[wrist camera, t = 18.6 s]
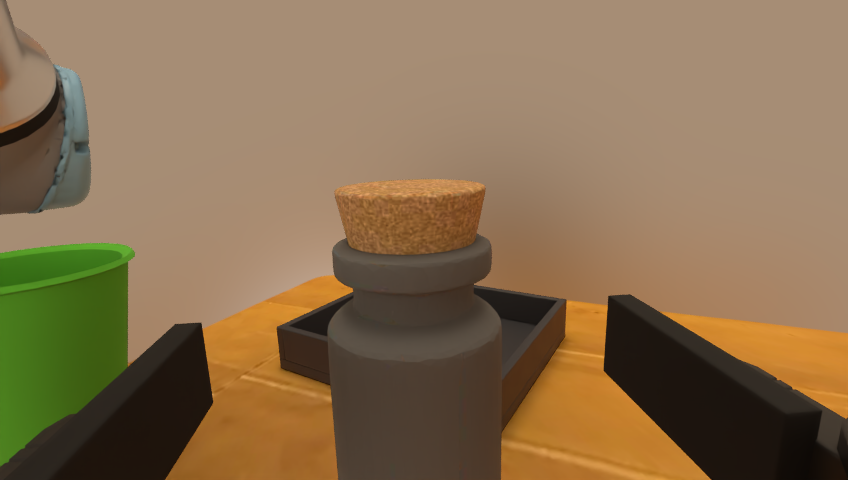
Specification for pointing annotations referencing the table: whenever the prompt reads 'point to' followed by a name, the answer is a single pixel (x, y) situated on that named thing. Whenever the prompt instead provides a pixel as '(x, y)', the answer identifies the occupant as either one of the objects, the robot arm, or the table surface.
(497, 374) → the bottle
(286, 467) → the table surface
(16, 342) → the cup
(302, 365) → the baking tray
